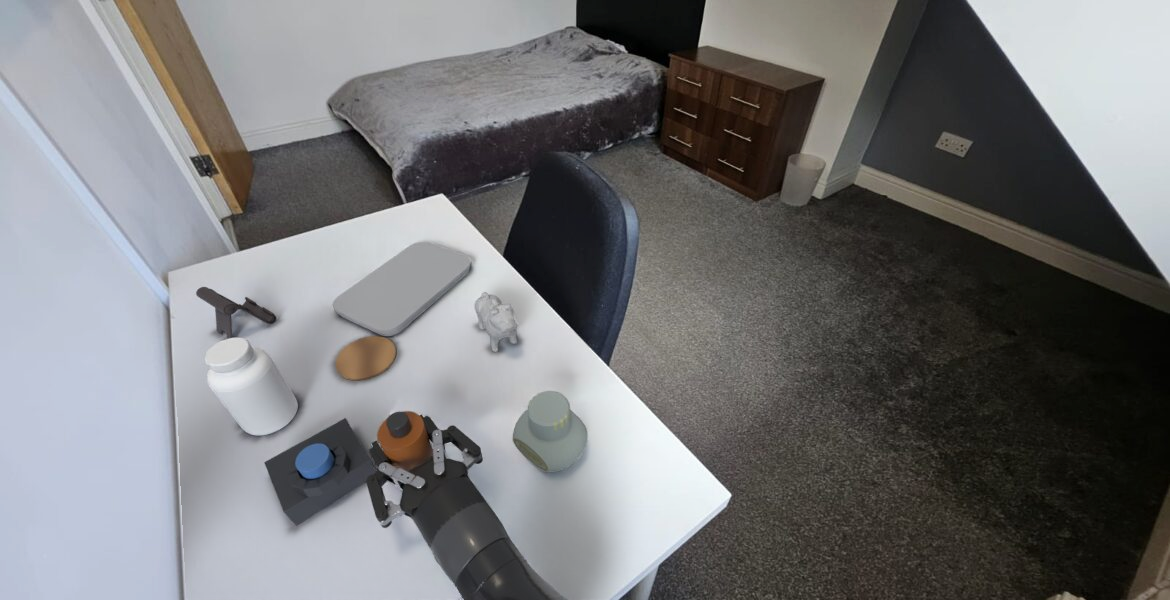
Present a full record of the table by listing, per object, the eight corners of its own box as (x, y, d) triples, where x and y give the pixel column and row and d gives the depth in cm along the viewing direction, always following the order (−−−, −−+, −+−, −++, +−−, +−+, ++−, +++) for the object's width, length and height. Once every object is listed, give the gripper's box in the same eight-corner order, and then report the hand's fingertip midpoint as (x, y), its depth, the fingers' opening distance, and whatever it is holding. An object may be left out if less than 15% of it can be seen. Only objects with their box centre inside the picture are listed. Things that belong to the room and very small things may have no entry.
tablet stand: (279, 320, 90) (259, 287, 84) (238, 346, 85) (215, 312, 79) (251, 304, 93) (231, 271, 88) (211, 328, 88) (186, 294, 82)
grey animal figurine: (501, 367, 82) (495, 323, 75) (474, 323, 90) (466, 280, 83) (528, 355, 85) (525, 312, 77) (499, 313, 93) (493, 270, 85)
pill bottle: (304, 420, 73) (262, 356, 63) (245, 446, 70) (192, 382, 60) (295, 387, 78) (255, 322, 68) (239, 409, 75) (189, 344, 65)
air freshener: (505, 444, 71) (499, 404, 64) (543, 409, 76) (540, 369, 69) (559, 489, 66) (557, 450, 59) (596, 448, 71) (598, 409, 64)
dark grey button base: (298, 531, 61) (279, 510, 57) (276, 476, 66) (257, 454, 62) (380, 479, 66) (368, 457, 62) (353, 432, 72) (341, 409, 68)
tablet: (328, 314, 91) (324, 305, 90) (421, 247, 109) (419, 238, 107) (391, 343, 86) (387, 334, 85) (478, 267, 103) (476, 259, 102)
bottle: (406, 498, 62) (384, 448, 55) (389, 468, 65) (365, 417, 58) (445, 472, 65) (428, 422, 57) (426, 445, 68) (408, 394, 60)
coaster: (349, 390, 78) (348, 388, 78) (327, 355, 83) (326, 354, 83) (405, 360, 83) (405, 358, 83) (382, 330, 88) (381, 328, 88)
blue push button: (307, 485, 60) (300, 477, 58) (297, 463, 62) (290, 455, 61) (338, 466, 62) (333, 458, 60) (328, 446, 64) (322, 437, 63)
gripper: (513, 475, 54) (441, 386, 64) (394, 562, 47) (333, 447, 56) (517, 505, 59) (450, 418, 69) (411, 588, 52) (352, 479, 61)
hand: (398, 432), depth 62 cm, fingers closed on bottle, 5 cm apart
